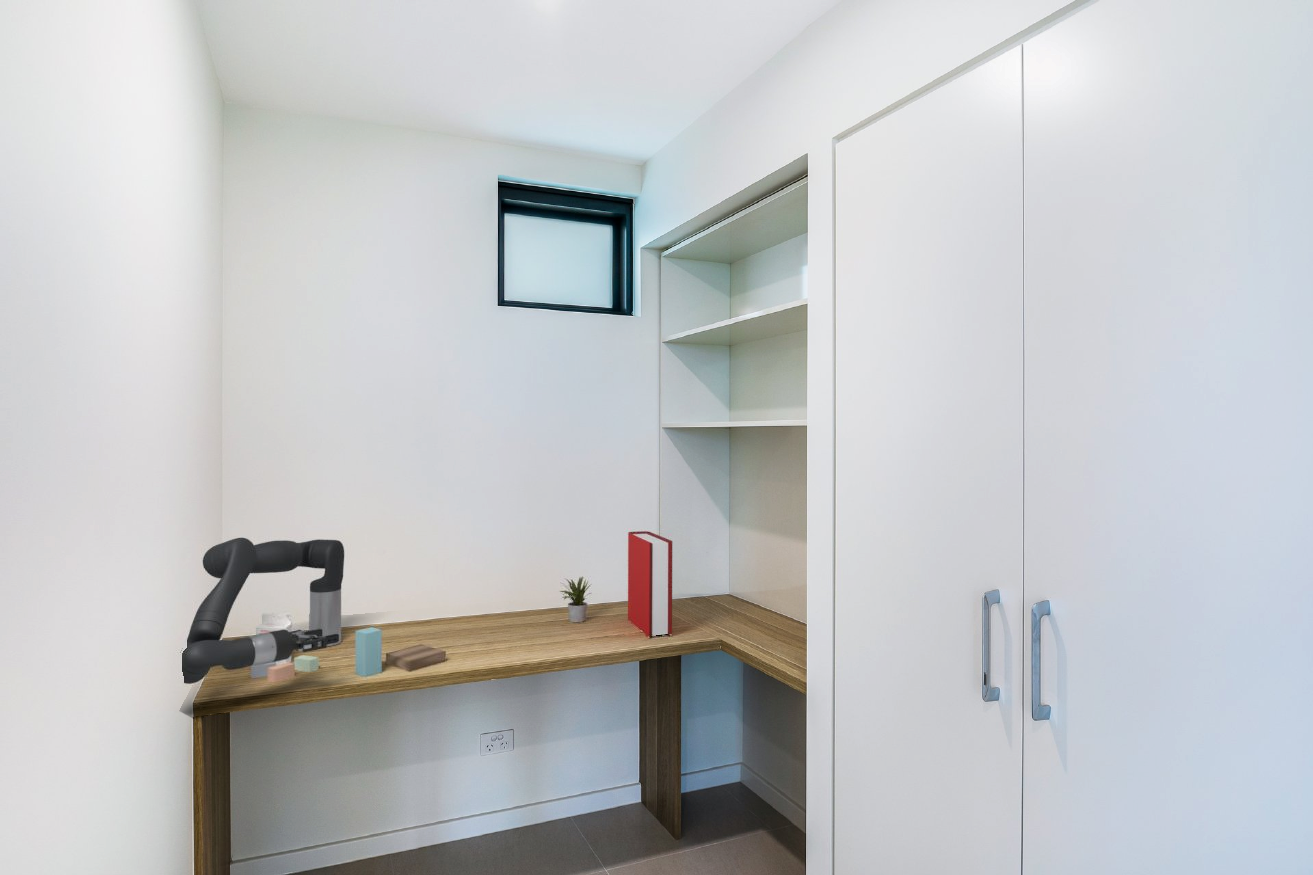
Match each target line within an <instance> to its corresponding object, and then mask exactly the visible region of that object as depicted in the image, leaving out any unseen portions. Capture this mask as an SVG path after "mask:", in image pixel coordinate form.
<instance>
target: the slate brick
mask: <svg viewBox="0 0 1313 875" xmlns="http://www.w3.org/2000/svg"><path fill="white" fill-rule="evenodd" d="M273 666H276V662H271V663H267V664H262V665H254V666H250V679H260V678H268V668H270V667H273Z"/></svg>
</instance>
